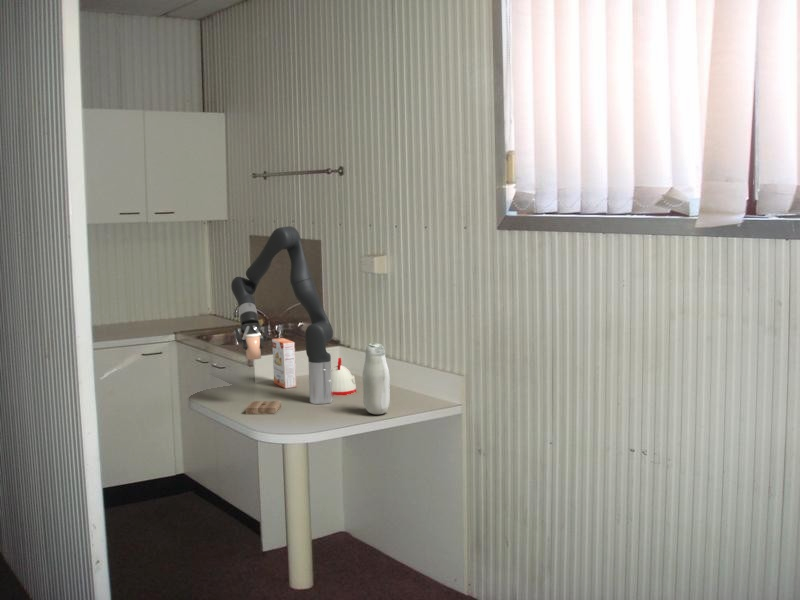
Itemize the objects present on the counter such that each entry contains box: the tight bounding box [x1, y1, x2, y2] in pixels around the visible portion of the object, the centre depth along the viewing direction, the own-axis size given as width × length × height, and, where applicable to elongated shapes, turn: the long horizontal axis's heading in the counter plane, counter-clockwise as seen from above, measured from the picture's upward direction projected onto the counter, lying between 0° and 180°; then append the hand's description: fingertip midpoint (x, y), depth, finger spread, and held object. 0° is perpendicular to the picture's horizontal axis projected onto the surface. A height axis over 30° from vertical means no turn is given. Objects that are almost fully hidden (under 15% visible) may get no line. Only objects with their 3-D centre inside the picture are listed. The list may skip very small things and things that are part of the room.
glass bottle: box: [362, 342, 391, 416], centre depth 360 cm, size 10×10×28 cm
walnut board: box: [245, 400, 282, 415], centre depth 370 cm, size 12×12×2 cm
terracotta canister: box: [245, 333, 262, 361], centre depth 379 cm, size 6×6×10 cm
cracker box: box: [271, 337, 297, 390], centre depth 418 cm, size 14×6×21 cm, turn 28°
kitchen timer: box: [331, 357, 357, 396], centre depth 402 cm, size 14×14×15 cm
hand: (253, 348), depth 377 cm, fingers closed on terracotta canister, 5 cm apart
